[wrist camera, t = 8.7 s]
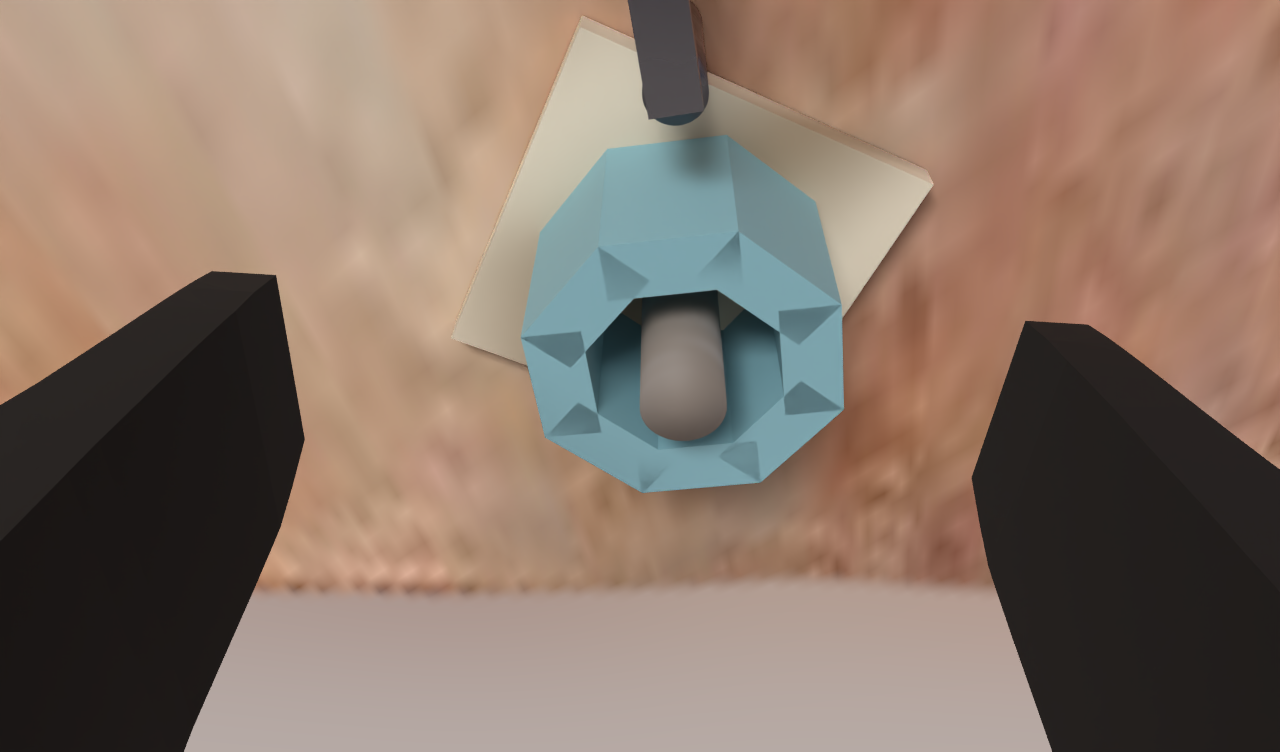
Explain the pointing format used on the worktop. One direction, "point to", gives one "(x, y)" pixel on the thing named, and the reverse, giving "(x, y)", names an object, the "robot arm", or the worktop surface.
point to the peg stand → (691, 322)
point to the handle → (670, 59)
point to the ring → (674, 264)
